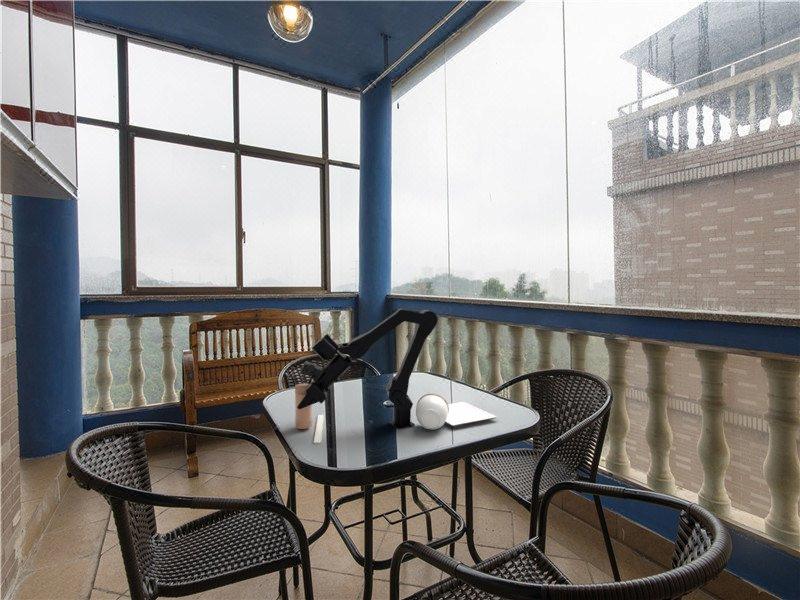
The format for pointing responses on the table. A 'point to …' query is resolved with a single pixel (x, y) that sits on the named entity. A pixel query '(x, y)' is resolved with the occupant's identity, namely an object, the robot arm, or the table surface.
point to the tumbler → (305, 414)
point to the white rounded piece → (432, 411)
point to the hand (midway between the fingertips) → (299, 405)
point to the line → (319, 429)
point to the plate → (466, 414)
